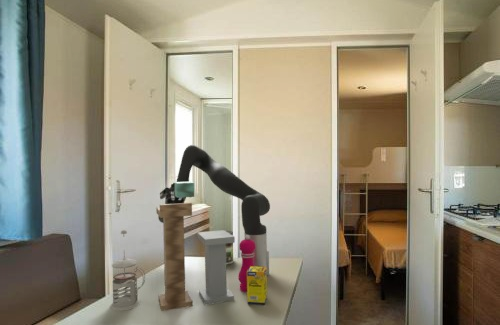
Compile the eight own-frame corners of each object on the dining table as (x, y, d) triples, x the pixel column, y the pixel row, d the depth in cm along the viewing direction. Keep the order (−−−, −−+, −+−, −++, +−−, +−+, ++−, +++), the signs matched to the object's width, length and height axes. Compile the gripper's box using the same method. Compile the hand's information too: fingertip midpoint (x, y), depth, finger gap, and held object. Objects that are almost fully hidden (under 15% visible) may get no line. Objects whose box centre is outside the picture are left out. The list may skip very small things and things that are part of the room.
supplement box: (265, 305, 114) (264, 271, 114) (247, 304, 115) (246, 271, 115) (267, 298, 119) (267, 266, 119) (250, 297, 121) (249, 265, 121)
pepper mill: (260, 286, 131) (259, 233, 131) (254, 293, 124) (253, 237, 124) (242, 285, 133) (241, 232, 133) (235, 291, 126) (234, 236, 127)
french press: (116, 298, 122) (115, 227, 122) (149, 298, 122) (148, 227, 122) (104, 310, 112) (102, 233, 113) (139, 310, 112) (138, 232, 112)
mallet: (184, 190, 144) (183, 178, 144) (194, 196, 124) (194, 182, 124) (169, 191, 142) (169, 179, 142) (177, 197, 122) (177, 183, 122)
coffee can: (234, 258, 171) (233, 230, 171) (232, 264, 160) (232, 234, 161) (213, 259, 171) (212, 230, 171) (210, 265, 161) (209, 234, 161)
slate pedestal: (225, 289, 129) (223, 230, 129) (236, 302, 117) (234, 236, 117) (198, 293, 125) (197, 232, 125) (206, 307, 113) (205, 239, 113)
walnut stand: (187, 294, 124) (185, 199, 125) (194, 308, 112) (191, 203, 112) (158, 299, 121) (156, 201, 121) (162, 313, 109) (159, 205, 109)
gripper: (156, 196, 151) (160, 176, 137) (189, 194, 156) (195, 175, 142) (158, 212, 147) (161, 194, 133) (191, 209, 152) (197, 192, 138)
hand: (178, 184), depth 138 cm, fingers closed on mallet, 3 cm apart
